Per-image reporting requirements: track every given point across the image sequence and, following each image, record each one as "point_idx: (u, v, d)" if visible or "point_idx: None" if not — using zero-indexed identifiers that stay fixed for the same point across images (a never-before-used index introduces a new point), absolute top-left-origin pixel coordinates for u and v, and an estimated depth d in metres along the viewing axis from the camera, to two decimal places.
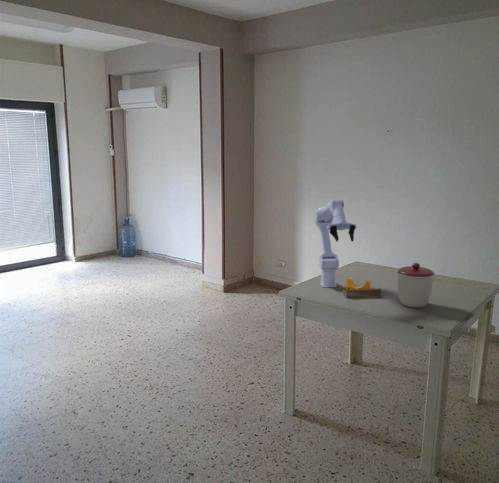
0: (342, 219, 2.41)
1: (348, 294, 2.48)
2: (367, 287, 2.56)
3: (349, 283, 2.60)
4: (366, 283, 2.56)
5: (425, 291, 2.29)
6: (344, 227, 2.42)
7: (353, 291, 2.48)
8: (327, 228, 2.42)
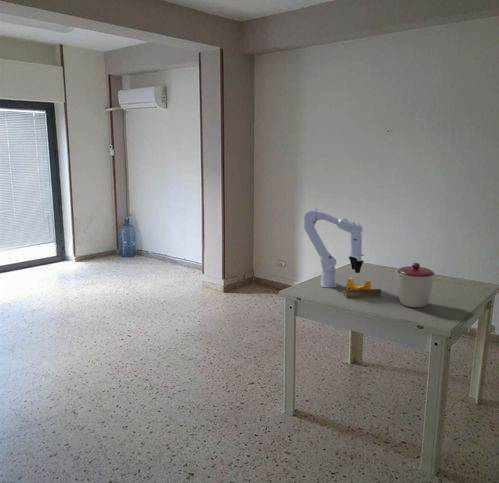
0: None
1: (348, 294, 2.48)
2: (367, 287, 2.56)
3: (349, 283, 2.61)
4: (366, 283, 2.56)
5: (425, 291, 2.29)
6: None
7: (353, 291, 2.48)
8: (357, 259, 2.54)
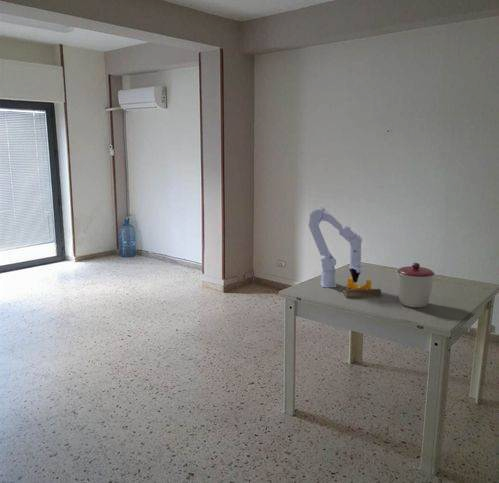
0: None
1: (348, 294, 2.48)
2: (368, 286, 2.57)
3: (350, 283, 2.61)
4: (367, 282, 2.57)
5: (425, 291, 2.29)
6: None
7: (353, 291, 2.48)
8: (357, 271, 2.56)
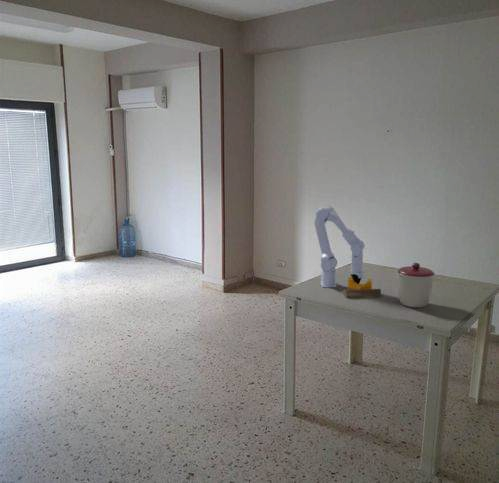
0: None
1: (348, 294, 2.48)
2: (369, 286, 2.55)
3: (350, 283, 2.58)
4: (368, 283, 2.54)
5: (425, 291, 2.29)
6: None
7: (353, 291, 2.48)
8: (359, 276, 2.53)
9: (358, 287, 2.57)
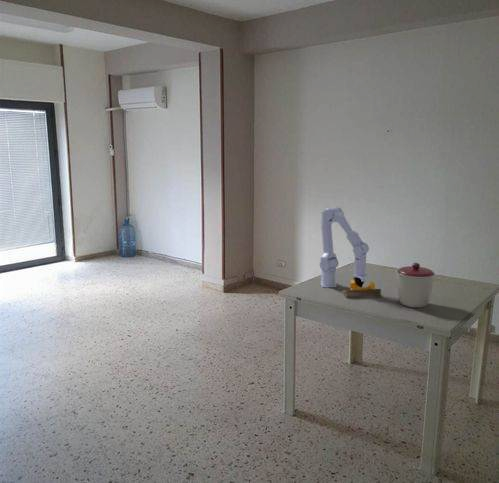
0: None
1: (348, 294, 2.48)
2: None
3: (353, 286, 2.52)
4: (371, 286, 2.49)
5: (425, 291, 2.29)
6: None
7: (353, 291, 2.48)
8: (362, 280, 2.47)
9: None
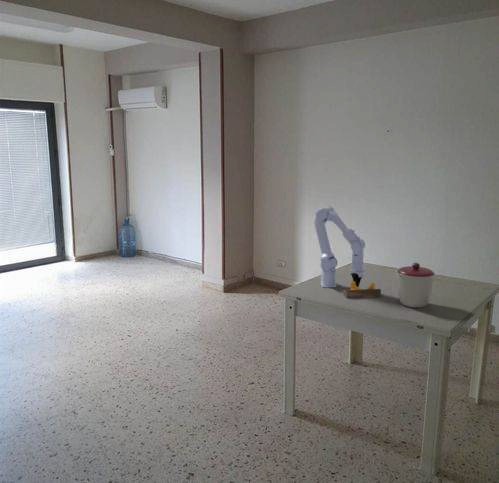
0: None
1: (348, 294, 2.48)
2: None
3: (353, 287, 2.54)
4: (371, 286, 2.51)
5: (425, 291, 2.29)
6: None
7: (353, 291, 2.48)
8: (359, 275, 2.52)
9: None
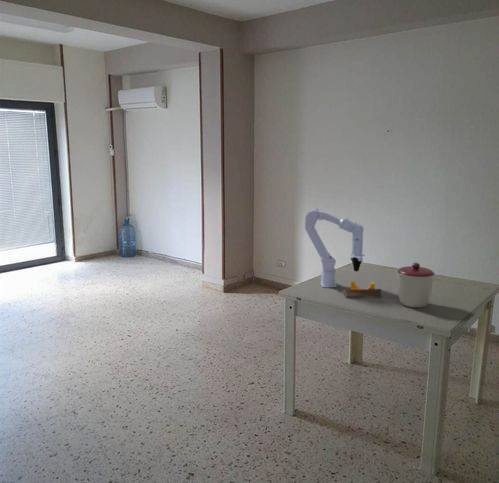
0: None
1: (348, 294, 2.48)
2: None
3: (353, 286, 2.54)
4: (371, 285, 2.51)
5: (425, 291, 2.29)
6: None
7: (353, 291, 2.48)
8: (359, 259, 2.56)
9: None
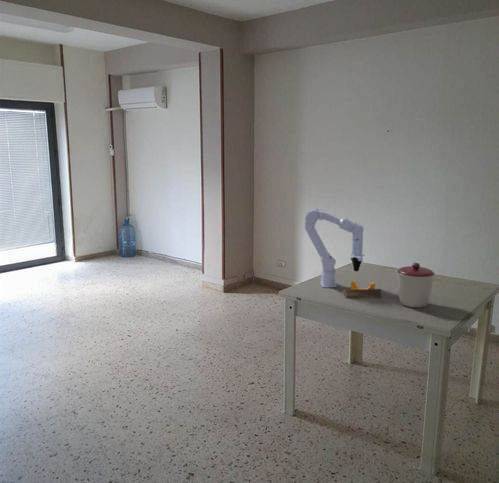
0: None
1: (348, 294, 2.48)
2: None
3: (353, 286, 2.55)
4: (371, 285, 2.52)
5: (425, 291, 2.29)
6: None
7: (353, 291, 2.48)
8: (359, 259, 2.56)
9: None
